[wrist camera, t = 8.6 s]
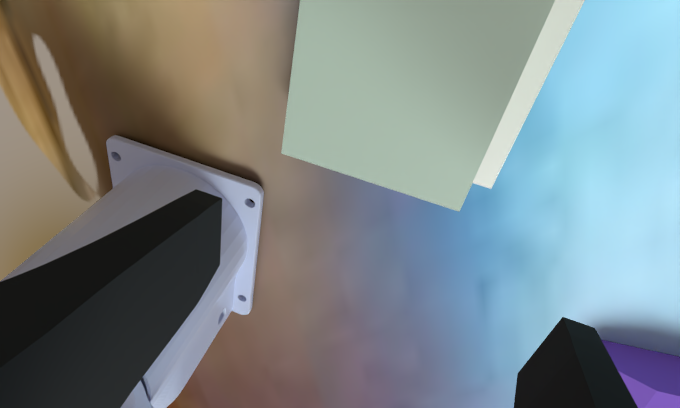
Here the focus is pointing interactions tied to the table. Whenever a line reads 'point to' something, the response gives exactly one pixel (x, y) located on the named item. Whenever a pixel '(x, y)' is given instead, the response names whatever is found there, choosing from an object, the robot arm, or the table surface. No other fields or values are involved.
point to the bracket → (647, 375)
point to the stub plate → (528, 88)
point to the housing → (406, 88)
